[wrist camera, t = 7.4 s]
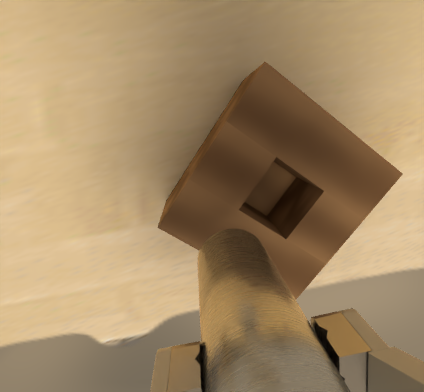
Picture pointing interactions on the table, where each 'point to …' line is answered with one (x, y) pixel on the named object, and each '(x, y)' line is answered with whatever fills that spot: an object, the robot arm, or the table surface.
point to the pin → (255, 324)
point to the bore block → (279, 179)
